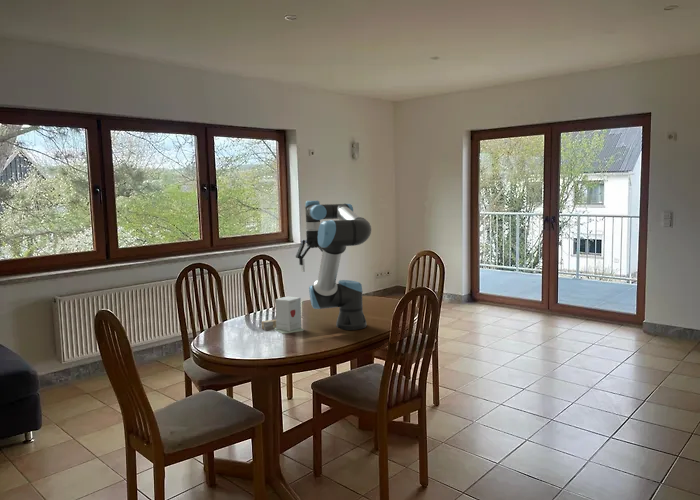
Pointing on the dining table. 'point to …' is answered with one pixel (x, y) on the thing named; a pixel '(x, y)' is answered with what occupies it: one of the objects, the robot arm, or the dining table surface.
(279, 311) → the supplement box
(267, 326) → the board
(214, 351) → the dining table surface
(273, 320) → the leg bar
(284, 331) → the seat pad
